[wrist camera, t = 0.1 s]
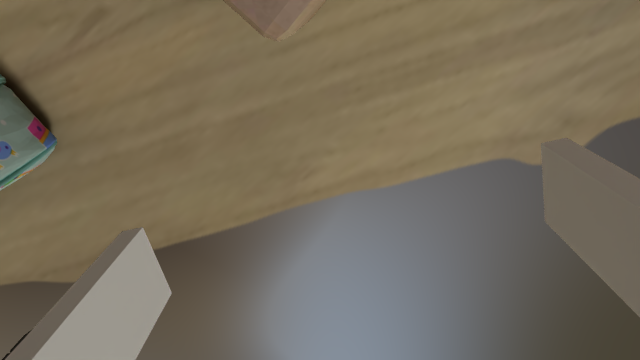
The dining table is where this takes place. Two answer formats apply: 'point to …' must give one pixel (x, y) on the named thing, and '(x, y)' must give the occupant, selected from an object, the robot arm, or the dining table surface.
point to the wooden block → (276, 15)
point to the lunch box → (20, 138)
